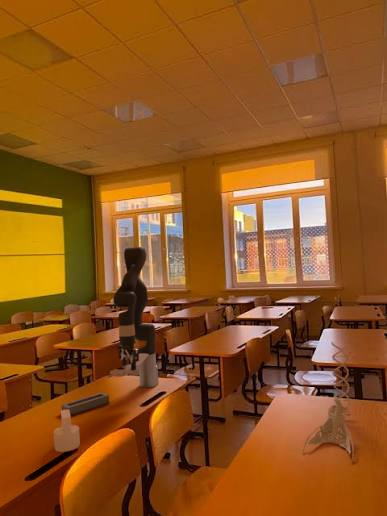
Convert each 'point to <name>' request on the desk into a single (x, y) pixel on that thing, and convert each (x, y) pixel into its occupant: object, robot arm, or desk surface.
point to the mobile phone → (127, 367)
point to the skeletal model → (333, 429)
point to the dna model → (340, 376)
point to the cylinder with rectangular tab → (66, 434)
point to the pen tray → (86, 403)
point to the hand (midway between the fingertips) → (129, 369)
